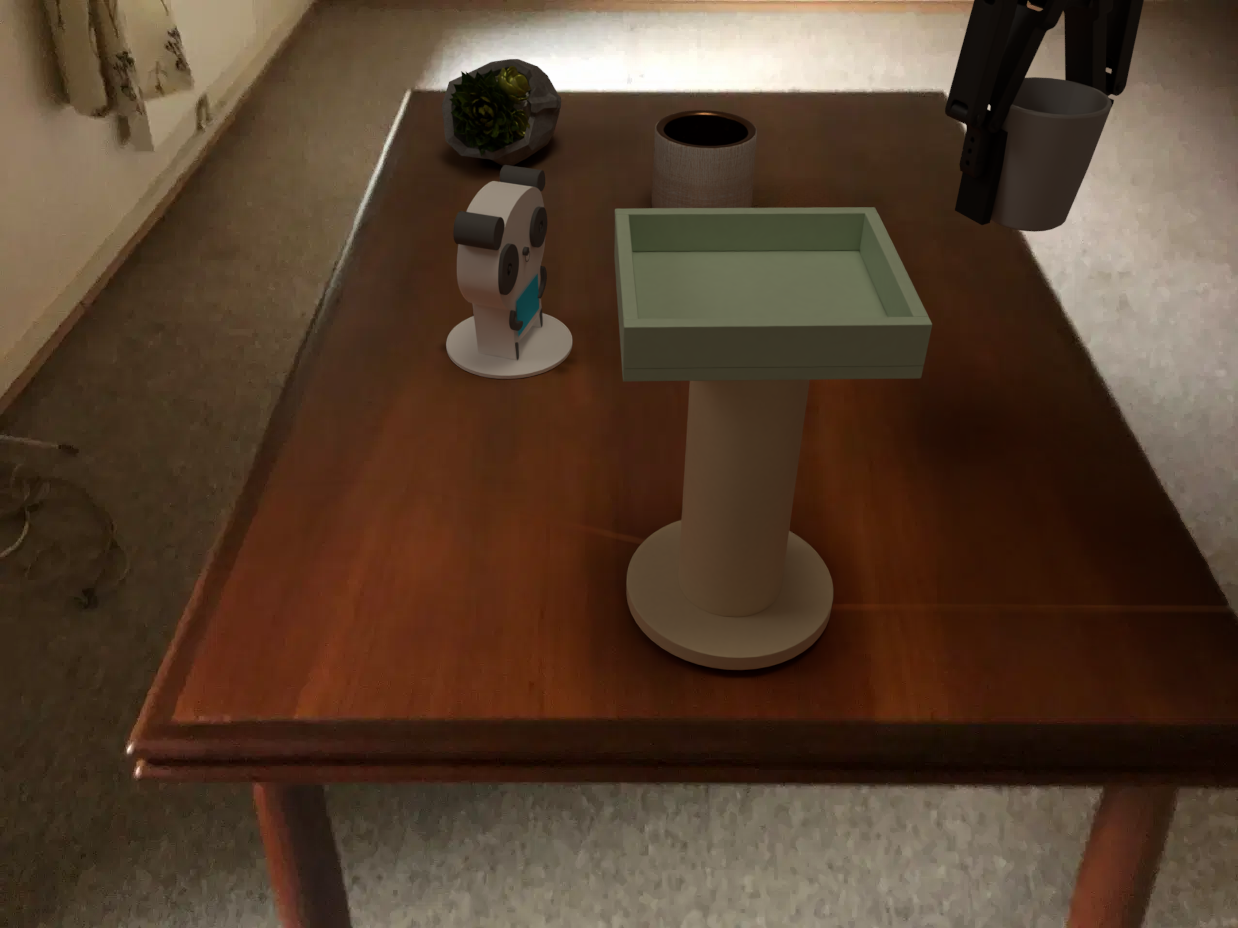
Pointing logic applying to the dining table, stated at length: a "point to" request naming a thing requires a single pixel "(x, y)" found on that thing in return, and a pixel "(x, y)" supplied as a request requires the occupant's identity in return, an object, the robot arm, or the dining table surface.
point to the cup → (1047, 151)
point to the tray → (751, 404)
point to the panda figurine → (505, 282)
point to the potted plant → (501, 111)
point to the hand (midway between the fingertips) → (1012, 205)
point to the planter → (703, 160)
